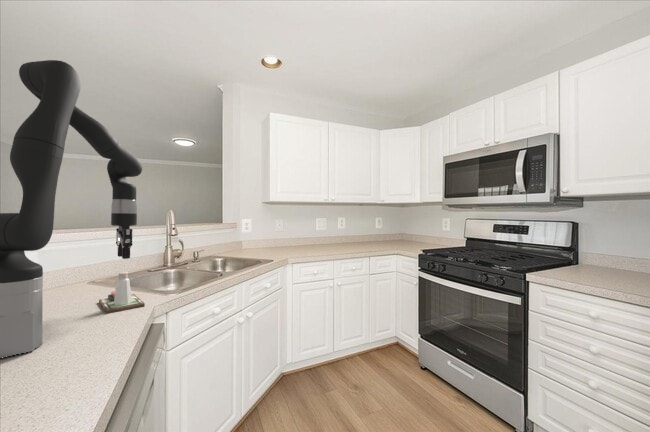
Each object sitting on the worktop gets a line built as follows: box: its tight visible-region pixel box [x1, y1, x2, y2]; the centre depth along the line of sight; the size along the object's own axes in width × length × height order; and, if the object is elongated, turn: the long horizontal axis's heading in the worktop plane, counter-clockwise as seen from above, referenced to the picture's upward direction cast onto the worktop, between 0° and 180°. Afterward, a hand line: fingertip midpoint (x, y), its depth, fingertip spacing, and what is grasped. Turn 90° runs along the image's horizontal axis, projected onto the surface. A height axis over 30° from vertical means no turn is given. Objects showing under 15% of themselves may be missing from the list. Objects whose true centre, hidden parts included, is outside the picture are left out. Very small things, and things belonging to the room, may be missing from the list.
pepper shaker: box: [114, 271, 132, 305], centre depth 100 cm, size 5×5×11 cm
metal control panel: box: [98, 293, 146, 315], centre depth 103 cm, size 17×11×2 cm, turn 45°
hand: (123, 257), depth 100 cm, fingers open, 8 cm apart
